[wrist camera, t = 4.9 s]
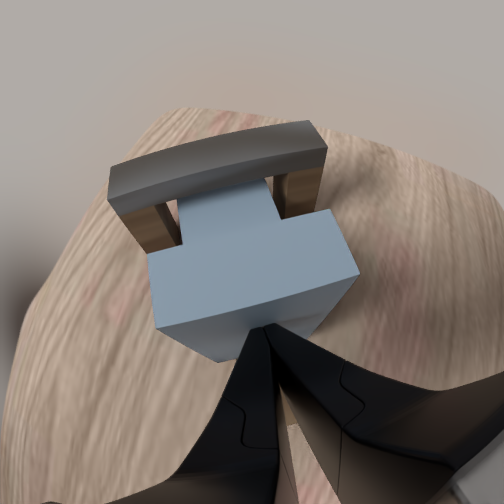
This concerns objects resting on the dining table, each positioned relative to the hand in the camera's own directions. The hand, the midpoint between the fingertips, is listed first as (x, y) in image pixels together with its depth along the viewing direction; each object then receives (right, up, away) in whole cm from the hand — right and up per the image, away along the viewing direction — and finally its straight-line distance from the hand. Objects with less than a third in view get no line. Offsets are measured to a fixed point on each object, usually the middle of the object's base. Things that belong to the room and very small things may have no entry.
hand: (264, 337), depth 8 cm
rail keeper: (-1, +1, +9) cm, 9 cm away
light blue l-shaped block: (-1, +2, +8) cm, 8 cm away
